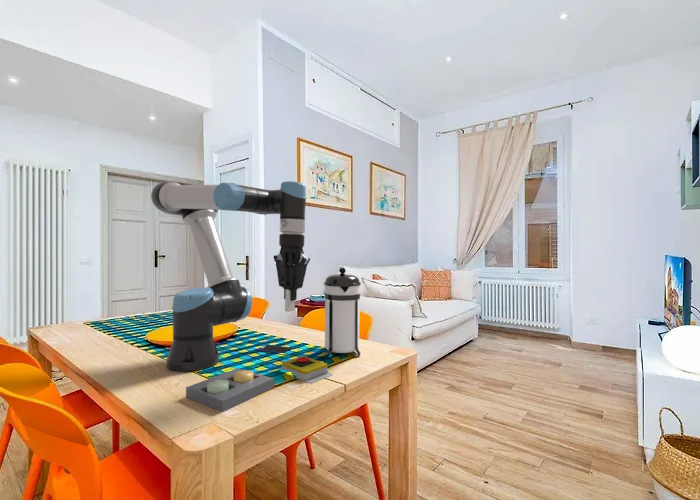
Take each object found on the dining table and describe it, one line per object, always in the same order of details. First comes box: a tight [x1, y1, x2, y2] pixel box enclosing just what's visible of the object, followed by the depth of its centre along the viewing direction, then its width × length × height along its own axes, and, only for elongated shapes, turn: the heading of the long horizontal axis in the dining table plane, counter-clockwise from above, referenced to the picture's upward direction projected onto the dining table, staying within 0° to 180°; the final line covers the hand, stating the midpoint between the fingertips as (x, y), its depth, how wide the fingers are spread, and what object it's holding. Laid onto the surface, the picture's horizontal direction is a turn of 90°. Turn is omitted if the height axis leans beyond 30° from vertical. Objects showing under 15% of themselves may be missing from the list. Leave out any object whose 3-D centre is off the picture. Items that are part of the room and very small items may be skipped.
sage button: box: [207, 380, 229, 395], centre depth 88 cm, size 5×5×3 cm
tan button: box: [234, 369, 254, 384], centre depth 94 cm, size 5×5×3 cm
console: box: [185, 368, 275, 412], centre depth 91 cm, size 14×16×2 cm
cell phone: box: [255, 344, 296, 354], centre depth 127 cm, size 7×14×1 cm, turn 69°
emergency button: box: [280, 355, 334, 384], centre depth 105 cm, size 9×4×15 cm
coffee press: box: [323, 266, 361, 358], centre depth 126 cm, size 17×16×30 cm
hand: (289, 310), depth 109 cm, fingers closed
